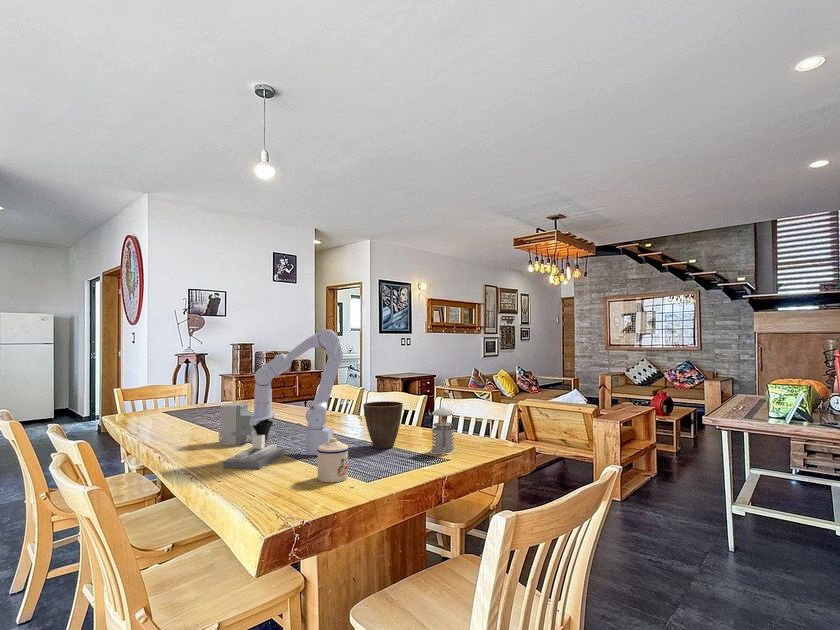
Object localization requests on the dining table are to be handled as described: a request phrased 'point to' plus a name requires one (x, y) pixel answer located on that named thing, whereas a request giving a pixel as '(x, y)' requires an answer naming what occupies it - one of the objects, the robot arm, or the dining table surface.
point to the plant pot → (383, 422)
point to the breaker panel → (255, 463)
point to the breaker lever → (258, 442)
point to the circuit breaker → (235, 424)
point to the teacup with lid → (332, 461)
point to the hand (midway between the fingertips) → (262, 442)
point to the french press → (443, 433)
